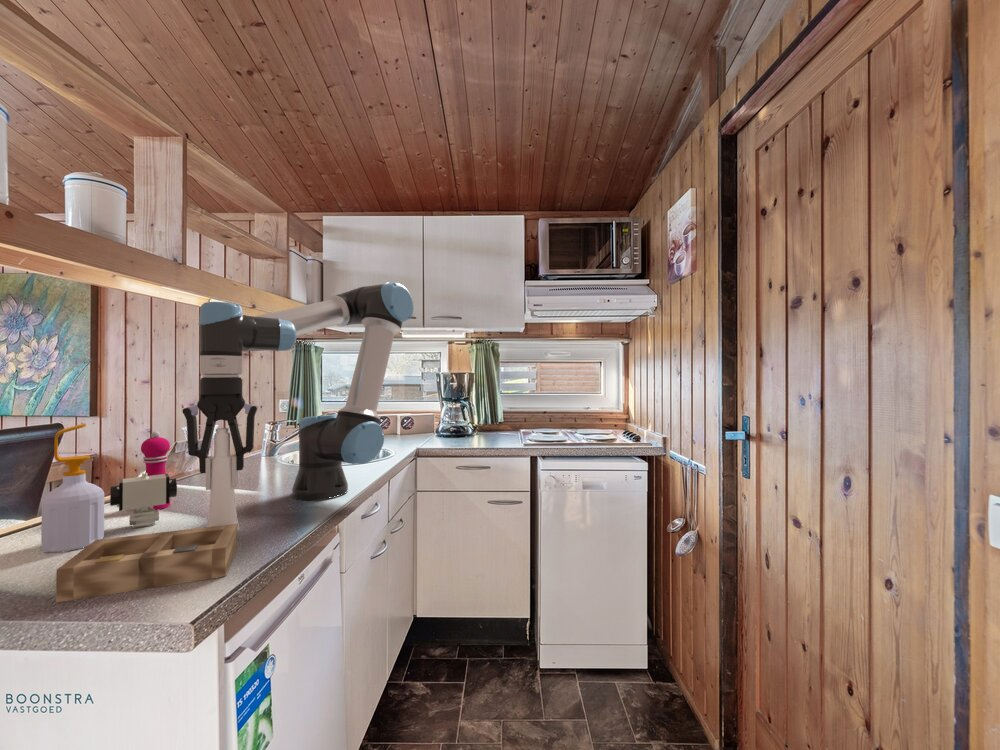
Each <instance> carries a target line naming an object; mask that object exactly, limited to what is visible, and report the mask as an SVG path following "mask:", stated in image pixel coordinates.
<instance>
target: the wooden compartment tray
mask: <svg viewBox="0 0 1000 750" xmlns="http://www.w3.org/2000/svg"><path fill="white" fill-rule="evenodd" d="M238 524H239V523H238ZM238 524H231V525H222V526H213V527H207V526H205V527H197V528H188V529H180V530H171V531H163V532H153V533H152V532H151V533H147V534H146V533H145V534H136V535H135V534H134V535H128V536H119V537H109V538H103V539H99V540H95V541H94V542H92V543H91V544H90V545H88V546H87V547H85V548H82V549H81V550H80V551H79V552H78V553H76V554H75V555H74V556H72V557H71V558H70V559H69V560H67V561H66V562H65V563H63V564H62V565H61V566H59V567H58V568H56V572H55V573H56V574H55V575H56V587H55V590H56V593H55V594H56V595H55V598H56V599H55V601H56V603H61V602H68V601H74V600H82V599H87V598H95V597H100V596H106V595H114V594H120V593H127V592H134V591H140V590H146V589H153V588H159V587H164V586H166V587H167V586H172V585H177V584H184V583H185V584H186V583H191V582H196V581H197V582H198V581H203V580H204V581H205V580H211V579H210V578H212V579H217V578H216V577H218V578H223V577H222V576H224V577H226V575H227V574H228V572H227V571H229V569H230V567H229V566H231V565H230V564H232V563H233V561H234V558H233V557H235V556H236V553H237V551H238V536H239V534H238V532H239V531H238ZM236 550H237V551H236ZM226 573H227V574H226Z"/></svg>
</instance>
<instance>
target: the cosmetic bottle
mask: <svg viewBox="0 0 1000 750" xmlns="http://www.w3.org/2000/svg"><path fill="white" fill-rule="evenodd" d="M228 431H229V427H219V428H216V429H215V432H216V433H214V434H213V437H214V438H213V439H214V441H213V444H214V449H213V450H214V453H213V454H214V456H213V457H212V466H211V489H210V490H209V491H210V493H209V508H208V516H207V517H208V519H207V523H206V527H213V526H222V525H231V524H238V532H239V531H240V525H239V520H238V515H237V506H236V495H235V494H236V493H235V487H233V488H232V456H233V455H232V454H231V432H228Z"/></svg>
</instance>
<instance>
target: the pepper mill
mask: <svg viewBox="0 0 1000 750" xmlns="http://www.w3.org/2000/svg"><path fill="white" fill-rule="evenodd" d="M160 436H161V433H160V432H159V431H156V430H155V431H152V433H151V437H149V438H147V439H145V440H144V441H143V442H142V443H141V445H140V451H141V453H142V454H143V455H144V457H143V463H144V464H145V473H147V476H152V475H161V474H167V472H166V462H167V461H168V455H167V454H168V452H169V451H170V449H171V442H169V440H168V439H167V438H165V437H160ZM145 473H144V474H145ZM168 506H169V507H170V506H171V499H169V504H162V505H156V506H153V508H155V511H157V509H160V510H163V509H162V508H164V509H167V508H169V507H168ZM166 507H167V508H166ZM148 508H150V507H148ZM139 510H141V509H139Z"/></svg>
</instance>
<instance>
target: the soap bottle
mask: <svg viewBox="0 0 1000 750" xmlns="http://www.w3.org/2000/svg"><path fill="white" fill-rule="evenodd" d="M85 427H87V424H86V423H82V424H77V425H74V426H70V427H66V428H63V429H60V430H59V431H57V432H56V433H55V436H54V448H53V449H54V455H53V457H54V459H55V461H57V462H59V463H64V466H68V471H64V472H63V473H62V484H61V485H60V486H57V487H56V488H54V489H52V490H51V491H50V492H48V493H47V494H45V495H44V497H43V498H42V500H41V531H40V532H41V538H40V539H41V542H40V543H41V545H40V548H41V550H42V551H43V552H44V553H45V552H47V553H51V552H52V553H64V552H63V551H66V552H71V551H70V550H72V551H75V549H77V550H81V549H84V548H83V547H85V548H86V547H87V546H88V545H90V544H91V543H92V542H94V541H95V540H99V539H104V537H105V492H104V490H103V488H101V487H99V486H98V485H97V484H94V483H91V482H88V481H87V475H86V470H85V469H83V470H82V469H81V465H82V464H84V463H85V461H87V460H90V459H91V456H90V455H89V454H86V455H75V456H64V457H63V456H62V457H61V456H60V455H59V437H60V436H61V435H62V434H65V433H68V432H72V431H75V430H78V429H82V428H85ZM80 548H81V549H80Z"/></svg>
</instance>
